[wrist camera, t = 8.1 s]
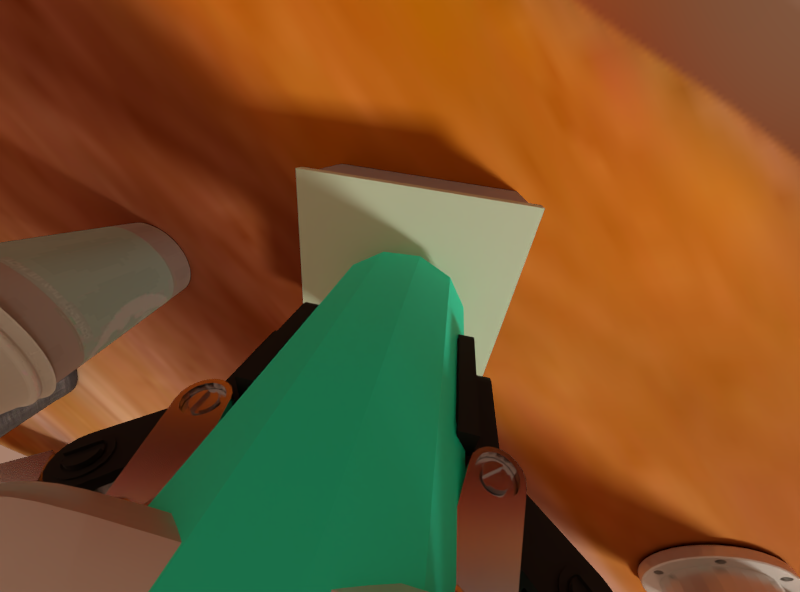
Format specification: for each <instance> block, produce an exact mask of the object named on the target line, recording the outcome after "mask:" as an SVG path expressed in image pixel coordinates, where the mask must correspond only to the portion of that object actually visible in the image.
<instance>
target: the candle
mask: <svg viewBox="0 0 800 592" xmlns="http://www.w3.org/2000/svg"><path fill="white" fill-rule="evenodd" d="M459 334H460V335H464V307H463V305H462V303H461V300H460V298H459V296H458V294H457V292H456V289H455V287H454V285H453V283H452V280H451V278H450V277H449V276H447V275H446V274H445V273H443V272H442V271H440V270H439V269H438V268H436V267H435V266H433V265H432V264H430V263H429V262H428V261H426V260H425V259H423V258H422V257H421V256H414V255H406V254H398V253H390V252H382V253H379V254H377V255H375V256H372V257H370V258H368V259H365V260H363V261H361V262H358V263H356V264H354V265H352V267H351V268H350V269H349V270H348V271H347V273H346V274H345V275H344V276H343V277H342V278H341V280H340V281H339V282H338V283H337V284H336V285H335V287H334V288H333V289H332V290H331V291H330V293H329V294H328V295H327V296H326V297H325V298H324V300H323V301H322V302H321V303H320V304H319V305H318V307H317V308H316V309H315V310H314V311H313V312H312V314H311V315H310V316H309V317H308V318H307V320H306V321H305V322H304V323H303V324H302V325H301V327H300V328H299V329H298V330H297V331H296V332H295V334H294V335H293V336H292V337H291V338H290V340H289V341H288V342H287V343H286V344H285V345H284V347H283V348H282V349H281V350H280V351H279V352H278V354H277V355H276V356H275V357H274V358H273V359H272V361H271V362H270V363H269V364H268V365H267V367H266V368H265V369H264V370H263V371H262V372H261V374H260V375H259V376H258V377H257V378H256V379H255V381H254V382H253V383H252V384H251V385H250V387H249V388H248V389H247V390H246V391H245V392H244V394H243V395H242V396H241V397H240V398H239V399H238V401H237V402H236V403H235V404H234V405H233V406H232V408H231V409H230V410H229V411H228V412H227V414H226V415H225V416H224V417H223V418H222V419H221V421H220V422H219V423H218V424H217V425H216V426H215V428H214V429H213V430H212V431H211V432H210V434H209V435H208V436H207V437H206V438H205V439H204V441H203V442H202V443H201V444H200V445H199V446H198V448H197V449H196V450H195V451H194V452H193V453H192V455H191V456H190V457H189V458H188V459H187V461H186V462H185V463H184V464H183V465H182V466H181V468H180V469H179V470H178V471H177V472H176V473H175V475H174V476H173V477H172V478H171V479H170V481H169V482H168V483H167V484H166V485H165V486H164V488H163V489H162V490H161V491H160V492H159V493H158V495H157V496H156V497H155V498H154V499H153V500H152V502H151V503H150V504H149V505H148V507H152V508H155V509H158V510H162V511H165V512H169V513H171V514H172V516H173V519H174V521H175V523H176V526H177V529H178V532H179V535H180V538H181V542H182V543H181V544H180V546H179V547H178V549H177V550H176V552H175V553H174V554H173V556H172V557H171V559H170V560H169V562H168V563H167V565H166V566H165V568H164V569H163V571H162V572H161V574H160V575H159V577H158V578H157V580H156V581H155V583H154V584H153V586H152V587H151V588H150V590H149V591H148V592H331V590H333V589H340V588H349V587H358V586H367V585H383V584H398V583H402V584H405V585H408V586H412V587H415V588H418V589H421V590H425V591H428V592H455V587H456V556H457V505H458V500H459V496H460V492H461V487H462V483H463V479H464V474H465V450H464V448H463V446H462V444H461V443H460V441H459V439H458V437H457V425H456V383H457V339H458V338H459V337H458V335H459Z"/></svg>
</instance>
